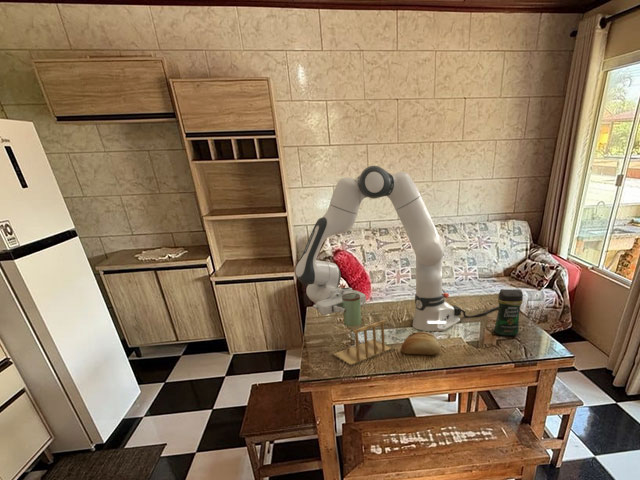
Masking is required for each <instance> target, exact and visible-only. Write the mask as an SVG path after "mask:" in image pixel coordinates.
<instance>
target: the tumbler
mask: <svg viewBox="0 0 640 480" xmlns="http://www.w3.org/2000/svg"><path fill="white" fill-rule="evenodd" d="M342 303H343V307H344V308H346V312H345V313H342V315H343V324H344V325H345V326H346V327H358V326H360V325H362V324H363V323H362V322H363V320H362V307H361V303H360V294H357V293H347V294H344V295H342Z"/></svg>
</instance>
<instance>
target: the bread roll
mask: <svg viewBox="0 0 640 480" xmlns="http://www.w3.org/2000/svg"><path fill="white" fill-rule="evenodd" d="M400 348H401V349H400V350H401V352H402V353H403V354H406V355H423V356H436V355H438V354H440V352H441V349H442V347H441V344H440V342H439V340H438V338H437V337H436V336H435V335H434V334H432V333H430V332H428V331H416V332H412V333H411V334H409V335H408V336H407V337H406V338H405V339H404V341H403V342H402V344H401V347H400Z"/></svg>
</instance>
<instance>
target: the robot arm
mask: <svg viewBox="0 0 640 480" xmlns="http://www.w3.org/2000/svg"><path fill="white" fill-rule="evenodd" d="M384 197H387V198H388V200H390V202H391V204H392V206H393V208H394V210H395V212H396V214H397V216H398V218H399V220H400V223H401V224H402V226H403V228H404V231H405V233H406V235H407V238H408V240H409V243H410V245H411V247H412V249H413V252H414V254H415V294H414V303H415V305H414V313H413V318H412V325H411V326H412V327H413V328H414V329H417V330H419V331H423V332H435V331H436V332H444V331H446V330H448V329H449V328H451V327H453V326H454V325H456V324H457V323H459V322H461V318H460V316H461V314H463V318H468V319H469V318H477V317H481V316H484V315H487V314H489V313H491V312H493V311H495V310H499V306H496V307H492V308H490V309H488V310H487V311H485V312H481V313H477V314H475V315H474V314H473V315H466V311H465V310H464V309H462V308H461V307H459V306H457V305H456V304H455V305H452V304H450V303H448V302H447V301H446V300H445V299H449V298H450V294H449V293H447V292H443V257H444V254H445V247H444V243H443V239H442V237H441V236H440V235H439V233H438V230H437V228H436V225H435V223H434V221H433V219H432V217H431V214H430V213H429V210H428V207H427V206H426V203H425V201H424V199H423V197H422V195H421V193H420V190H419V188H418V186H417V185H416V184H415V181H414V180H413V178H412V177H411V175H410V174H408V172H405V171H398V172H396V173H393V174H391V173H390V172H388V171H387V170H385V169H384V168H383V167H381V166H379V165H369V166H367V167H365V168H364V169H362V171H361V173H360V174H359V175H358V177H357V178H352V177H341V178H340V179H339V180H338V181H337V183H336V185H335V187H334V190H333V193H332V194H331V198H330V201H329V206H328V208H327V210H326V212H325V213H324V215H323V216H321V217H320V218H318V219H317V221H316V222H315V224H314V226H313V228H312V230H311V233H310V234H309V238H308V240H307V243H306V244H305V248H304V249H303V252H302V254H301V256H300V258H299V259H298V261H297V263H296V265H295V269H294V272H295V276H296V278H297V279H298V281H299V282H300V283H301V284H303V285H307V286H306V289H305V290H306V292H305V293H306V296H307V297H308V299H309V300H310V301H311V302H313V303H314V304H313V305H312V308H313V309H315V310H317V313H319V314H321V315H323V316H329V315H332V314H334V313H335V314H336V313H341V314H343V313H345V312H346V308H344V307H343V303H342V295H344V294H347V293H357V294H360V303H361V308H363V307H364V305H365V304H366V302H367V296H366V294H365V293H363V292H361V291H359V290H354V289H353V288H352V287H339V286H340V283H341V277H342V275H341V274H342V273H341V270H340V268H339V265H338V264H336V263H335V262H330V261H325V260H318V259H317V257H318V255H319V253H320V251H321V247H322V245H323V243H324V242H325V240H327V239H328V238H330V237H332V236H336V235H341V234H344V233H347V232H349V231H350V230H351V229H352V228H353V227H354V225H355V223H356V220H357V217H358V213H359V209H360V206H361V204H362V202H363V200H364V199H366V198H368V199H380V198H384ZM461 312H462V313H461Z"/></svg>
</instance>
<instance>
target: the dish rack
mask: <svg viewBox="0 0 640 480" xmlns="http://www.w3.org/2000/svg"><path fill="white" fill-rule="evenodd" d="M385 324H386V320H384V319H382V320H379V321H376V322H374V323H371V324H367V325H365V326H361V327H359V328H356V329H353V330H352V332H353V334H354V337H355V345H353V346H350V347H349V346H348V347H346V349H342V350H340V351H337V352H334V353H333V355H334V356H335V357H337V358H339V359H340V360H342V361H343V362H345V363H347V364H349V365H353V364H356V363H358V362H361V361H363V360H365V359H368V358H371V357H374V356H375V355H378V354H381V353H383V352H385V351H388V350H391V349H392V347H391V346H389V345H387V344H386V343H385V327H384V325H385ZM378 326H380V332H381V333H380V334H381V335H380V337H381V342H380V341H378V340H377V335H376V334H377V333H376V332H377V331H376V327H378ZM370 329H372V339H371V340H368V330H370ZM361 332H363V339H364V342H362V343H360V342H359V333H361Z"/></svg>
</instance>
